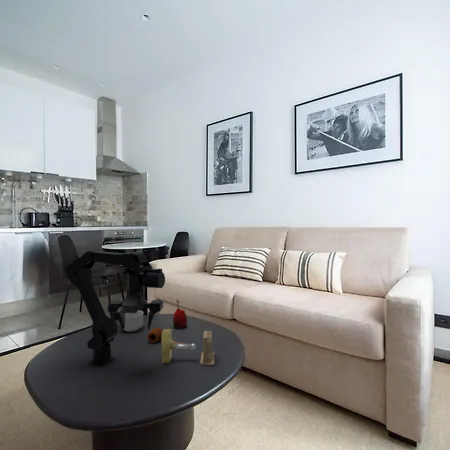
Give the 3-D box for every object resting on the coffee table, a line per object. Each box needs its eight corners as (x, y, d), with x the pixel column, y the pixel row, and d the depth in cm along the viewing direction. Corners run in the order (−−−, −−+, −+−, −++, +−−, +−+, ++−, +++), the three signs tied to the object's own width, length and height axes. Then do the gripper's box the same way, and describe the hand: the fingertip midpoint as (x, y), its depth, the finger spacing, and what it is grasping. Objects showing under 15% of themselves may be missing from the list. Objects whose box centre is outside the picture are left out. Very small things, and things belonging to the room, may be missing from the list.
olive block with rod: (161, 362, 103) (161, 333, 103) (163, 357, 107) (163, 329, 107) (195, 362, 103) (195, 332, 103) (196, 357, 107) (196, 328, 107)
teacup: (148, 328, 137) (148, 312, 138) (130, 335, 128) (130, 318, 128) (129, 323, 145) (129, 307, 145) (111, 329, 136) (111, 313, 136)
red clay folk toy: (190, 326, 139) (190, 296, 139) (179, 330, 134) (179, 299, 134) (180, 323, 144) (180, 294, 144) (169, 327, 139) (169, 297, 139)
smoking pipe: (154, 337, 127) (154, 324, 127) (191, 342, 121) (191, 329, 121) (145, 343, 120) (145, 330, 120) (184, 349, 114) (184, 335, 114)
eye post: (200, 365, 100) (200, 339, 101) (201, 354, 109) (201, 329, 110) (214, 365, 101) (213, 339, 101) (214, 354, 110) (214, 329, 110)
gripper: (100, 292, 93) (101, 338, 93) (156, 291, 93) (156, 338, 93) (113, 285, 104) (113, 326, 104) (163, 284, 104) (163, 326, 104)
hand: (136, 329), depth 101 cm, fingers open, 9 cm apart
